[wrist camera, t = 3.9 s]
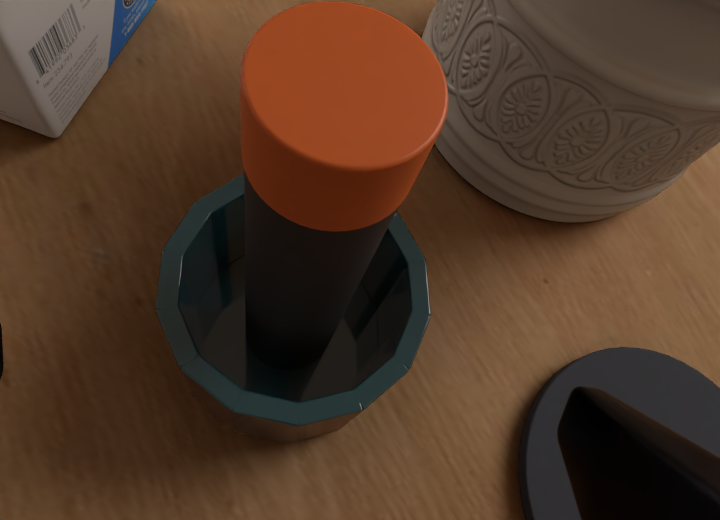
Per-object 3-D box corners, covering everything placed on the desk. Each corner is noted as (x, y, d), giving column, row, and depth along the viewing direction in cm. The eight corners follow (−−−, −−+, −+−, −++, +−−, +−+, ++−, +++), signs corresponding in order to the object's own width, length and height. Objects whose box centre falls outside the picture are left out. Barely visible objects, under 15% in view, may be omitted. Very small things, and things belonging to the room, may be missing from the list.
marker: (322, 380, 20) (435, 194, 8) (233, 360, 19) (211, 135, 7) (340, 298, 21) (460, 31, 9) (257, 278, 21) (270, -24, 9)
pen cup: (373, 464, 19) (412, 451, 15) (144, 414, 19) (110, 385, 14) (406, 264, 22) (447, 203, 18) (212, 215, 22) (203, 139, 17)
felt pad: (788, 673, 19) (805, 678, 18) (507, 618, 18) (515, 621, 18) (756, 381, 23) (768, 378, 23) (526, 325, 22) (533, 320, 22)
